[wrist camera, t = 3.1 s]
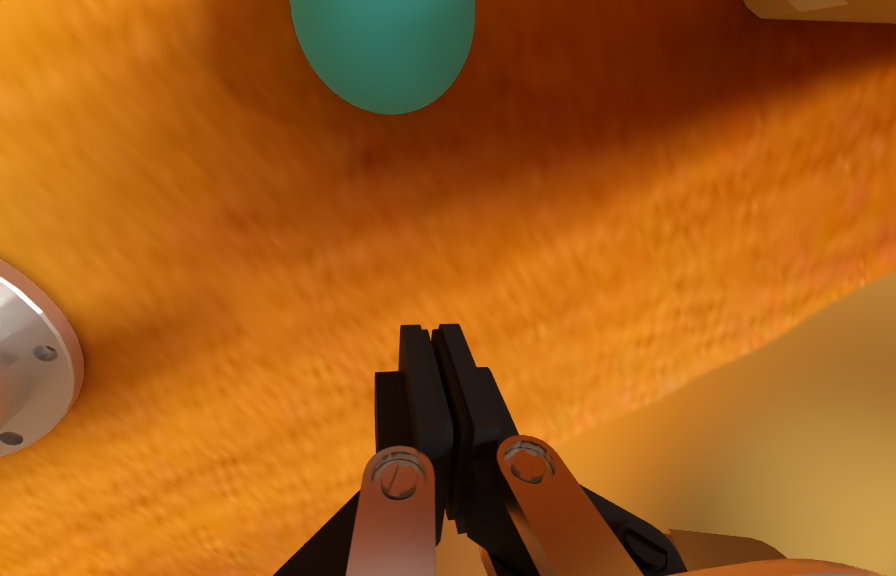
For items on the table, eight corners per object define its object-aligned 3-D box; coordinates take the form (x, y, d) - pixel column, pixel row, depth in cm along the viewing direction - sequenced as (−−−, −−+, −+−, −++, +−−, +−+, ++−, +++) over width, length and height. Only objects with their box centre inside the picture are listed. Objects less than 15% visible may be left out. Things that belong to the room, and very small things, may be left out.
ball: (305, 103, 16) (285, 111, 11) (293, -85, 14) (260, -190, 9) (445, 116, 18) (485, 128, 13) (459, -53, 15) (517, -126, 10)
